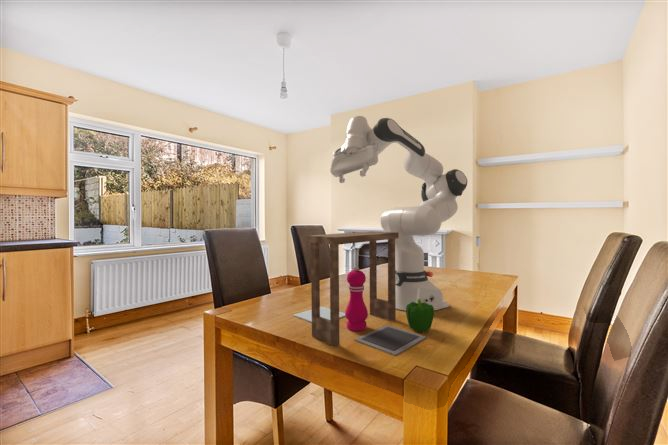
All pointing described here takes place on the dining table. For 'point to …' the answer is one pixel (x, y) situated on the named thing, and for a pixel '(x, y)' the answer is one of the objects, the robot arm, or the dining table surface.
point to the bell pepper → (419, 316)
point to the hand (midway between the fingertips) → (351, 179)
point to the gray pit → (390, 339)
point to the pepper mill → (356, 301)
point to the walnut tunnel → (378, 307)
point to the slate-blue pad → (323, 313)
